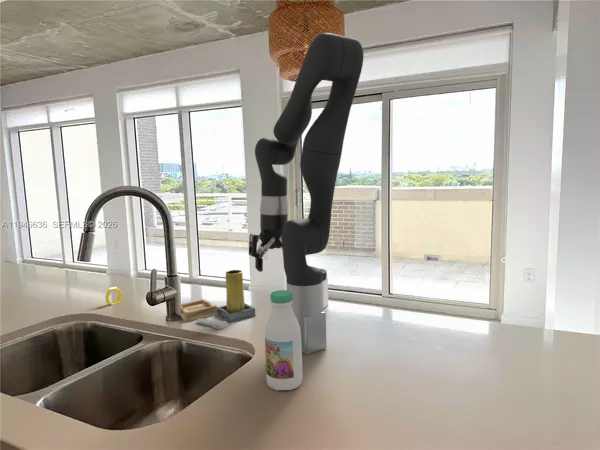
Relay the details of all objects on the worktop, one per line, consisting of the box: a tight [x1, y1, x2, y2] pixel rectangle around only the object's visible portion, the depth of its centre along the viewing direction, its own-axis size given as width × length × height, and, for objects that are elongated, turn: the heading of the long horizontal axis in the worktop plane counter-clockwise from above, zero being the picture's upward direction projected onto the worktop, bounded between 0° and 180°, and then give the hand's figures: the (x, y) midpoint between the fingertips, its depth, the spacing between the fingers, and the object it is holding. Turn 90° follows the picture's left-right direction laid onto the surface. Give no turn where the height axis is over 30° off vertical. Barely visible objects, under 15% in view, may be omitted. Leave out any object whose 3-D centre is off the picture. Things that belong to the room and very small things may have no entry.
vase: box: [225, 269, 246, 313], centre depth 131 cm, size 6×6×14 cm
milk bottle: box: [264, 289, 303, 391], centre depth 87 cm, size 8×8×20 cm
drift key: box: [195, 317, 228, 330], centre depth 123 cm, size 10×3×1 cm, turn 56°
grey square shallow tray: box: [216, 303, 256, 323], centre depth 131 cm, size 9×9×2 cm
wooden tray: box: [180, 298, 218, 322], centre depth 134 cm, size 11×11×2 cm
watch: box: [104, 286, 123, 306], centre depth 147 cm, size 6×3×6 cm, turn 155°
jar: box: [319, 268, 329, 310], centre depth 138 cm, size 9×8×12 cm
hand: (273, 269), depth 115 cm, fingers open, 8 cm apart
